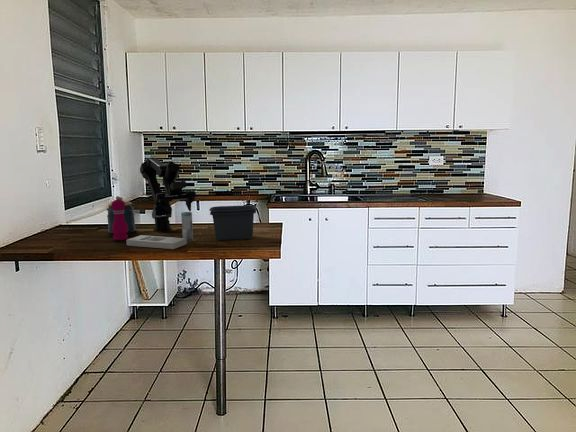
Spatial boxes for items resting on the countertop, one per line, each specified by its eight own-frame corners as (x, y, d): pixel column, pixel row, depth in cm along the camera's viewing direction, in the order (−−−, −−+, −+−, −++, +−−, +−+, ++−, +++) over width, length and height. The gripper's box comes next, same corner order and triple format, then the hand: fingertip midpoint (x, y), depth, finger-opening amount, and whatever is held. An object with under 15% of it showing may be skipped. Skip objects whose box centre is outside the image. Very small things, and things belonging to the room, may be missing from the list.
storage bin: (209, 241, 206) (208, 210, 204) (213, 234, 221) (211, 205, 219) (257, 240, 207) (256, 209, 205) (257, 233, 222) (256, 204, 220)
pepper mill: (132, 237, 216) (129, 195, 213) (120, 240, 210) (117, 197, 207) (120, 236, 219) (117, 195, 216) (109, 239, 213) (105, 196, 210)
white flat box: (126, 245, 201) (126, 239, 200) (141, 240, 210) (141, 234, 210) (173, 249, 193) (173, 242, 192) (186, 244, 202) (186, 238, 201)
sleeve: (180, 242, 206) (179, 213, 204) (186, 239, 210) (184, 211, 208) (189, 242, 204) (188, 213, 202) (195, 240, 209) (193, 212, 206)
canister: (140, 229, 237) (138, 195, 234) (127, 234, 224) (124, 198, 221) (117, 228, 239) (114, 195, 236) (103, 234, 226) (100, 198, 223)
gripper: (154, 176, 207) (164, 202, 200) (193, 173, 218) (204, 199, 210) (150, 191, 215) (159, 218, 208) (188, 189, 225) (198, 214, 218)
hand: (180, 212), depth 211 cm, fingers open, 9 cm apart
